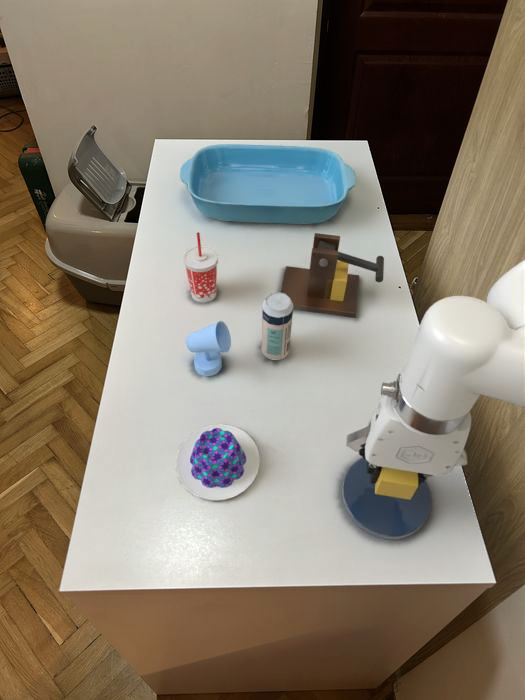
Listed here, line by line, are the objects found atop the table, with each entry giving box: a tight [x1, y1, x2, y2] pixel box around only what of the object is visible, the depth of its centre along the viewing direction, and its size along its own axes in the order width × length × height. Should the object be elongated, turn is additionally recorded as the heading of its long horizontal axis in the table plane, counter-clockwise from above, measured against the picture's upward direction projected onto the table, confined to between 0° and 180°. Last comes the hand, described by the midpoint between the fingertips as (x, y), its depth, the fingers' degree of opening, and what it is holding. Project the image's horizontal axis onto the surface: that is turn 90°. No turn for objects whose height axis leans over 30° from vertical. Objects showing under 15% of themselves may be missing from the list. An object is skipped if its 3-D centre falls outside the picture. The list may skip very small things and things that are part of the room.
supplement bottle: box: [260, 291, 294, 361], centre depth 85 cm, size 5×5×12 cm
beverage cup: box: [182, 232, 219, 303], centre depth 93 cm, size 6×6×14 cm
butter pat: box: [375, 467, 418, 500], centre depth 68 cm, size 4×6×4 cm
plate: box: [341, 457, 432, 541], centre depth 73 cm, size 12×12×1 cm
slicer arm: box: [317, 241, 385, 284], centre depth 91 cm, size 12×6×2 cm, turn 80°
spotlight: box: [185, 320, 232, 377], centre depth 84 cm, size 5×10×7 cm
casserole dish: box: [179, 143, 357, 225], centre depth 113 cm, size 37×22×7 cm, turn 89°
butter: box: [324, 260, 350, 301], centre depth 95 cm, size 4×5×5 cm
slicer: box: [280, 232, 360, 319], centre depth 94 cm, size 14×10×12 cm
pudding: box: [175, 423, 261, 501], centre depth 75 cm, size 12×12×5 cm
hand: (393, 475), depth 69 cm, fingers closed on butter pat, 4 cm apart
